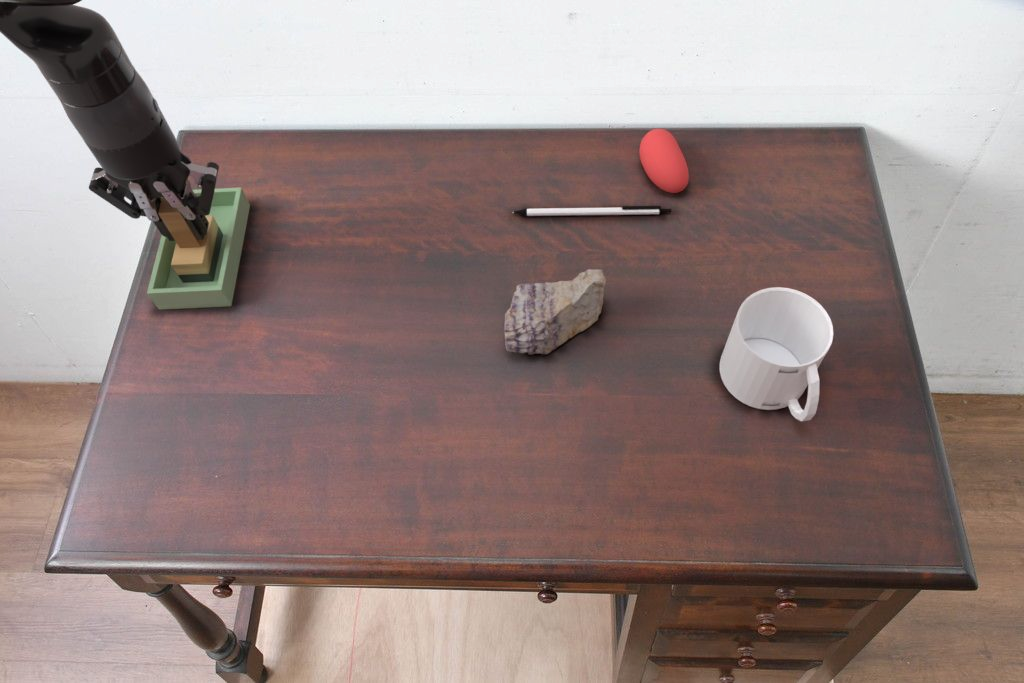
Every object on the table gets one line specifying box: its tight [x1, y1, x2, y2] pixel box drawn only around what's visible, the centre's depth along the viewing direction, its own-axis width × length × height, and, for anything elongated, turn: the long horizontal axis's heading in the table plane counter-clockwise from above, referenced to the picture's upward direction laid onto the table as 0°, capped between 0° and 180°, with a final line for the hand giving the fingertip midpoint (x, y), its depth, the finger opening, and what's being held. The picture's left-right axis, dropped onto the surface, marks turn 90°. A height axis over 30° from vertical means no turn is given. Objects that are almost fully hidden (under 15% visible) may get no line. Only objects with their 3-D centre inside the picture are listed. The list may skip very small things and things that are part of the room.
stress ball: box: [638, 128, 690, 194], centre depth 98 cm, size 5×9×6 cm, turn 2°
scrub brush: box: [158, 197, 223, 283], centre depth 90 cm, size 7×4×10 cm, turn 2°
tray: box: [146, 186, 251, 311], centre depth 94 cm, size 15×8×3 cm, turn 2°
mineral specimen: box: [503, 268, 607, 355], centre depth 86 cm, size 13×7×6 cm, turn 126°
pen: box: [511, 205, 673, 217], centre depth 96 cm, size 1×19×1 cm, turn 89°
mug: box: [718, 286, 834, 422], centre depth 79 cm, size 12×9×9 cm
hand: (188, 233), depth 90 cm, fingers closed on scrub brush, 2 cm apart
